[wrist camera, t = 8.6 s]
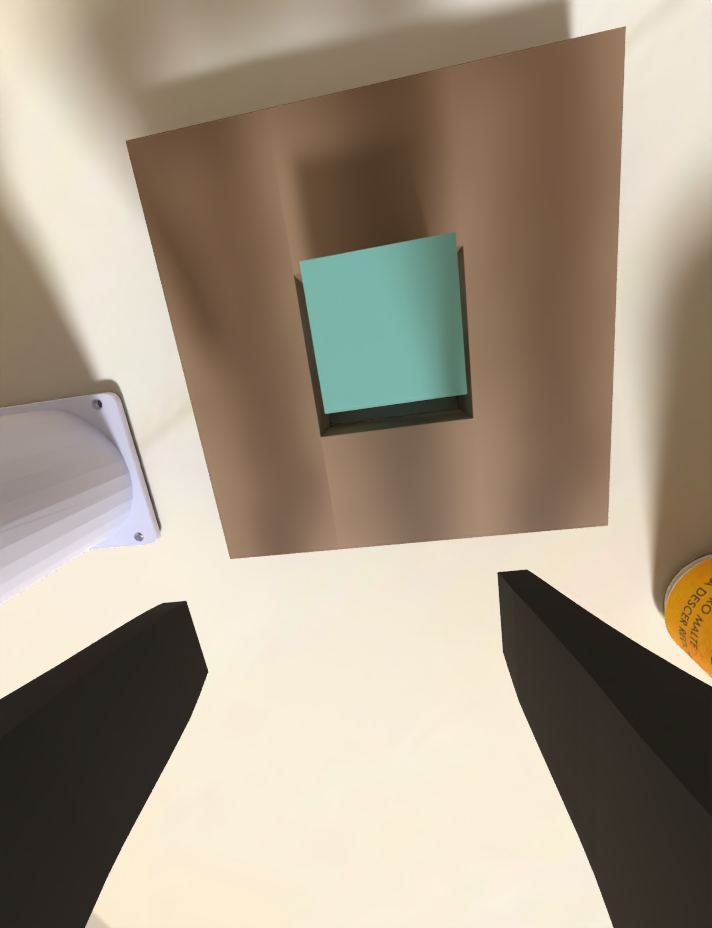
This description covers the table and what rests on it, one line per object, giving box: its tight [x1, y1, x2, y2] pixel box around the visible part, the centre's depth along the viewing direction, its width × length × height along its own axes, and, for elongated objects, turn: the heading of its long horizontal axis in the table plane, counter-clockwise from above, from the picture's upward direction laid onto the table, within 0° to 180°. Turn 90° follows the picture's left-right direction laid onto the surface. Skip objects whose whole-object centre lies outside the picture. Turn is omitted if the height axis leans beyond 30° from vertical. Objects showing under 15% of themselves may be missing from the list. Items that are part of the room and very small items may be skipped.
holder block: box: [126, 26, 626, 559], centre depth 15 cm, size 16×16×3 cm
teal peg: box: [299, 232, 467, 414], centre depth 13 cm, size 4×4×7 cm
